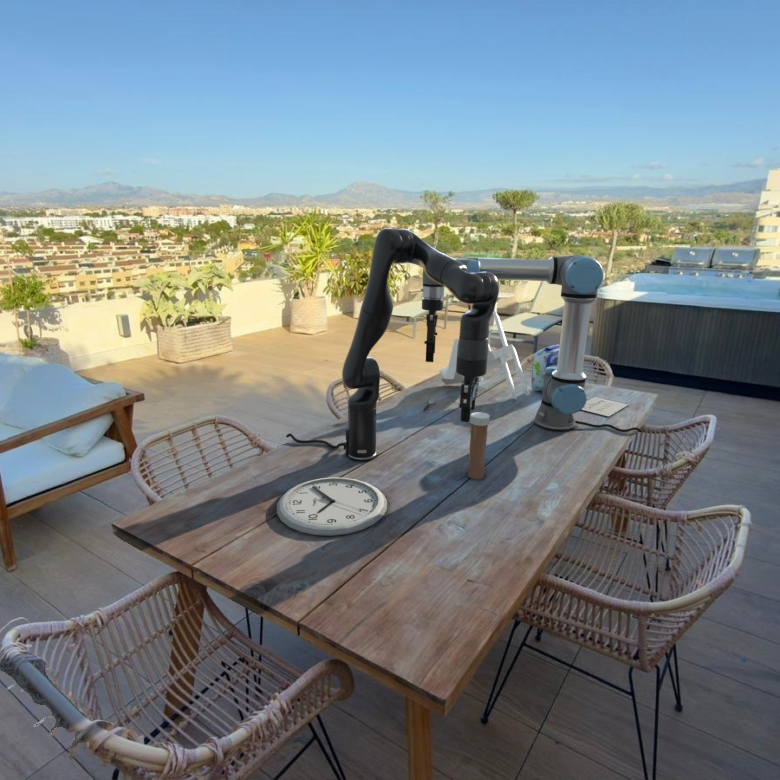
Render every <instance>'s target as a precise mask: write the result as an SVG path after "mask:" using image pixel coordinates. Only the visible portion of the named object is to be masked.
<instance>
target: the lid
mask: <svg viewBox="0 0 780 780" xmlns="http://www.w3.org/2000/svg"><path fill="white" fill-rule="evenodd" d="M490 420H491V416H490V414H489V413H486V412H483V411H482V412H481V411H475V412H472V413H470V421H469V423H470V424H471V423H472V424H474V425H478V426H485V425H488V426H489V425H490V422H491V421H490Z"/></svg>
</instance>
